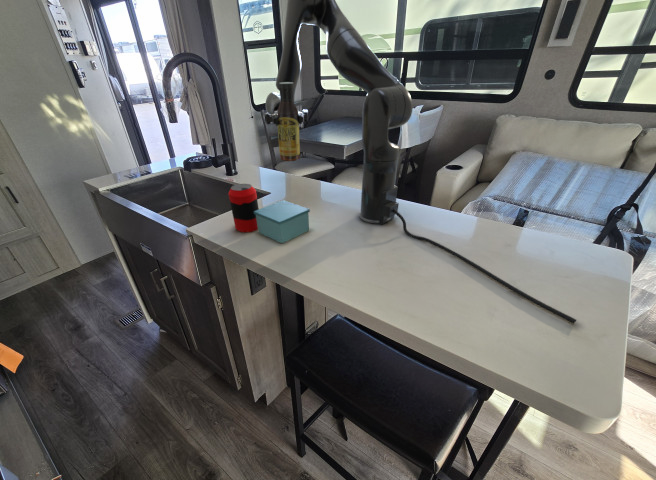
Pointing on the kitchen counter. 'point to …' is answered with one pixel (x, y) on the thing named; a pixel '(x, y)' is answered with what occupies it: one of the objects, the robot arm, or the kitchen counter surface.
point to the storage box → (282, 221)
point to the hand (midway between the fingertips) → (288, 120)
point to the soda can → (244, 207)
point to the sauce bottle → (288, 124)
